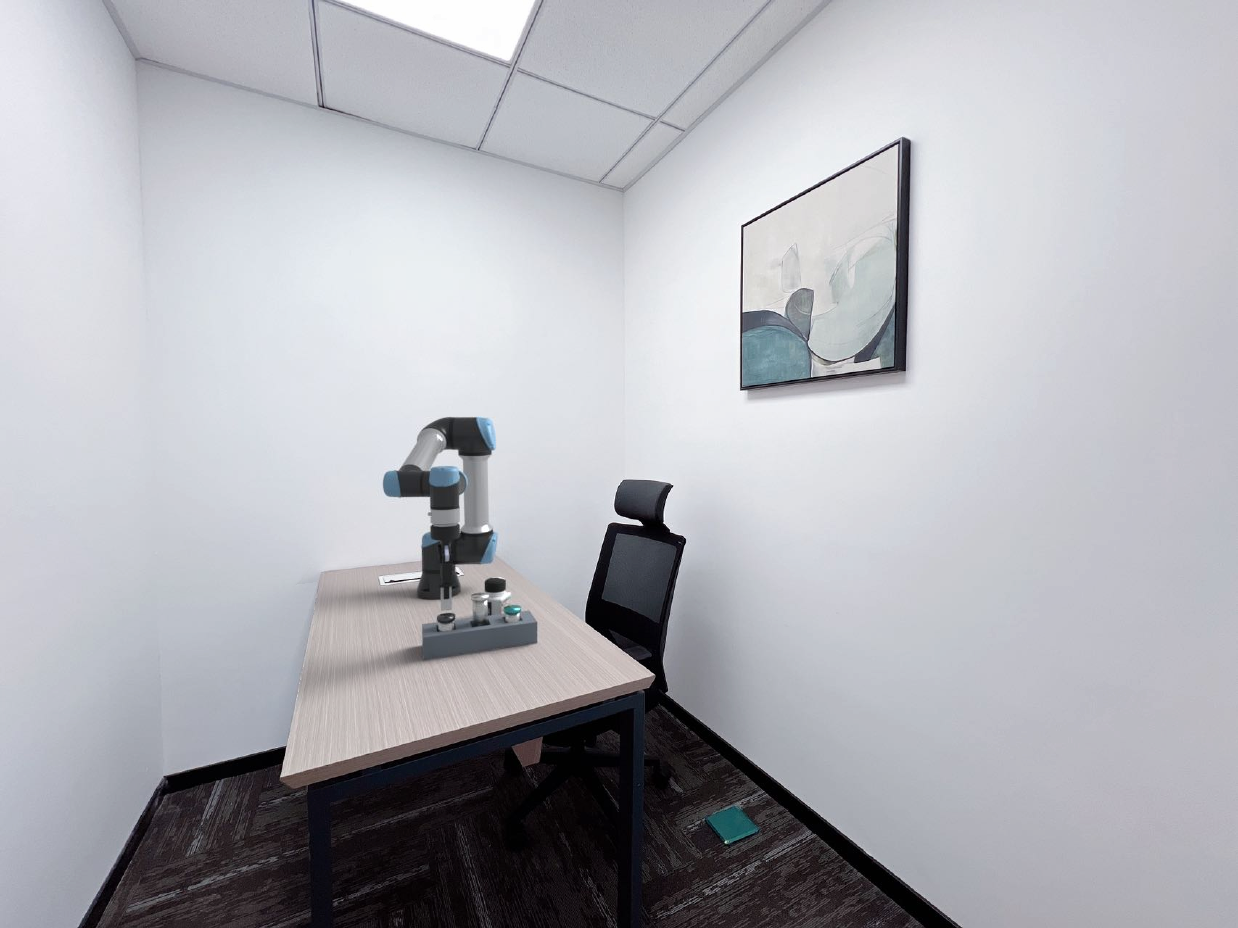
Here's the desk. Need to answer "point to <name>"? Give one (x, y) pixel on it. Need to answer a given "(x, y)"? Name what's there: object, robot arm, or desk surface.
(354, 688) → the desk surface
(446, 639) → the mount
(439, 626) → the knob black
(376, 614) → the desk surface
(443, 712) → the desk surface
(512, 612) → the knob teal
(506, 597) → the container
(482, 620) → the knob ivory
